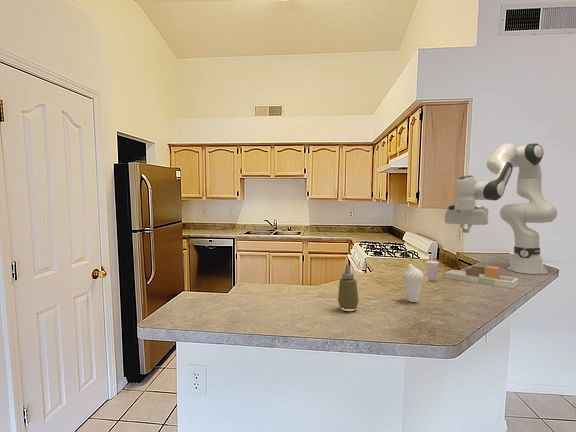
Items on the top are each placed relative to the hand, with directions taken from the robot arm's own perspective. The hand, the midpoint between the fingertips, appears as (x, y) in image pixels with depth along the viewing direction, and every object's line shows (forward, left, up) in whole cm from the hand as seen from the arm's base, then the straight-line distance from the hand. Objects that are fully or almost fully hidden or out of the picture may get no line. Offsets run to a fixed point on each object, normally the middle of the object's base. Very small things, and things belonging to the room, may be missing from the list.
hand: (465, 232), depth 166 cm
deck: (+1, +7, -25) cm, 26 cm away
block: (+1, +12, -22) cm, 25 cm away
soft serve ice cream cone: (+55, -2, -25) cm, 60 cm away
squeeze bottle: (+82, -15, -25) cm, 87 cm away
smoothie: (+15, -11, -25) cm, 31 cm away
